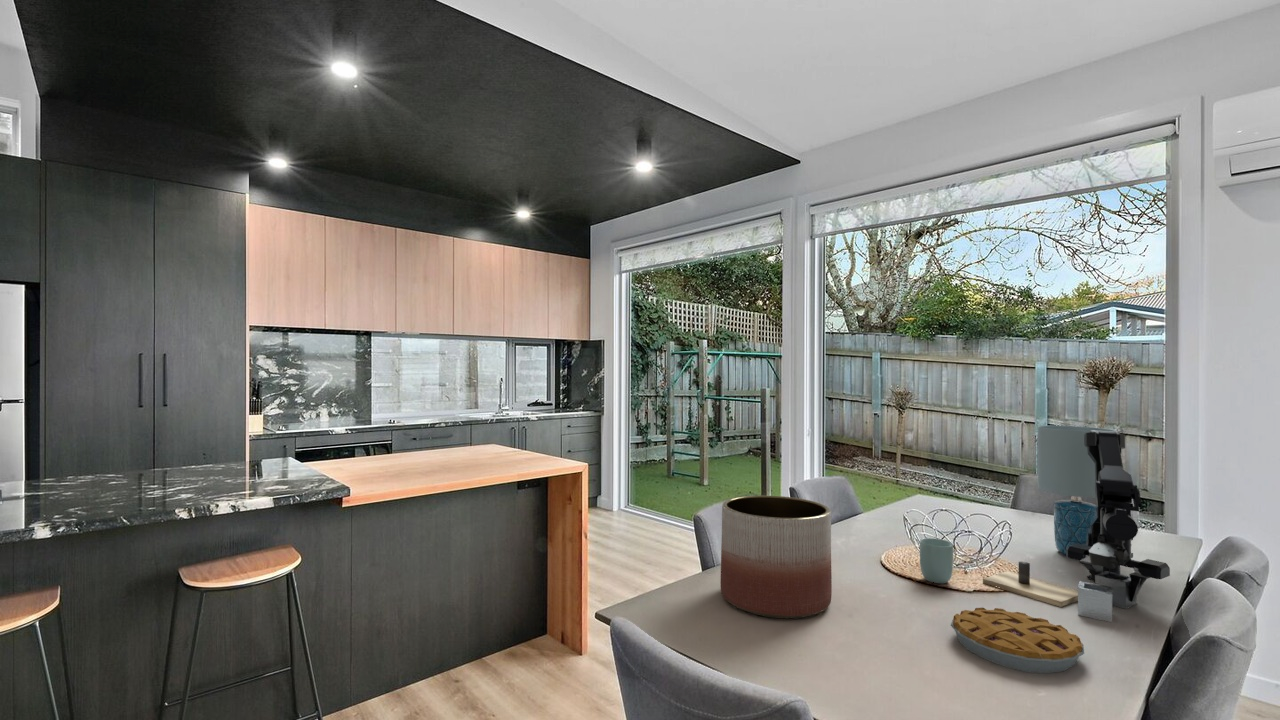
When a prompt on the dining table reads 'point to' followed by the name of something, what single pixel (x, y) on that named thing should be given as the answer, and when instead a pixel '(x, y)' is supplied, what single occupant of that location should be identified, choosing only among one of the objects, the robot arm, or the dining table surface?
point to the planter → (776, 556)
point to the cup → (936, 559)
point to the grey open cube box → (1095, 601)
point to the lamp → (1068, 481)
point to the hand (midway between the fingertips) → (1115, 596)
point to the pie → (1017, 640)
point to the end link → (1117, 588)
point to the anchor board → (1033, 586)
